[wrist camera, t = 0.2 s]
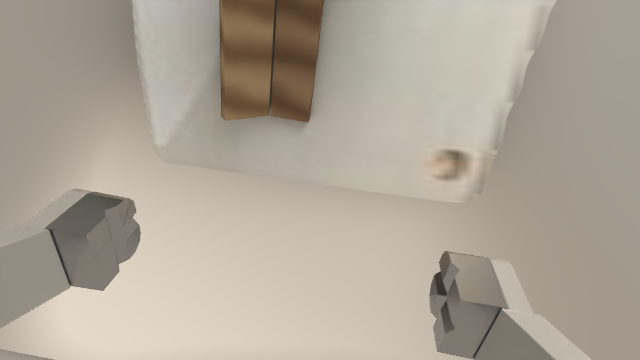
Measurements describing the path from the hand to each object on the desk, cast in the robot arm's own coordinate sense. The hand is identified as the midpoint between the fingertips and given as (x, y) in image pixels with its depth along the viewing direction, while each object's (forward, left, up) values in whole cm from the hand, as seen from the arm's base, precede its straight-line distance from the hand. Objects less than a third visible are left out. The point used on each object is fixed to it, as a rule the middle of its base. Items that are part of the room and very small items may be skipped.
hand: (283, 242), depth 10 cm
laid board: (+6, -8, -47) cm, 48 cm away
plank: (+6, -15, -44) cm, 47 cm away
